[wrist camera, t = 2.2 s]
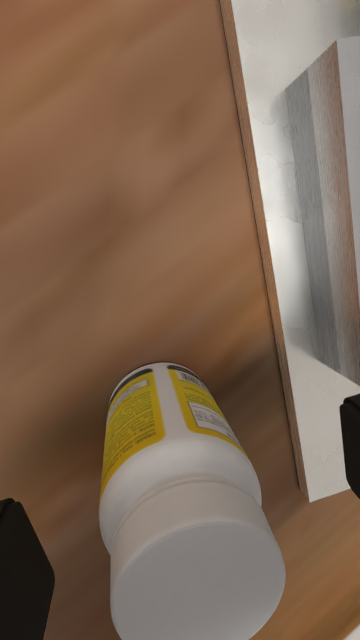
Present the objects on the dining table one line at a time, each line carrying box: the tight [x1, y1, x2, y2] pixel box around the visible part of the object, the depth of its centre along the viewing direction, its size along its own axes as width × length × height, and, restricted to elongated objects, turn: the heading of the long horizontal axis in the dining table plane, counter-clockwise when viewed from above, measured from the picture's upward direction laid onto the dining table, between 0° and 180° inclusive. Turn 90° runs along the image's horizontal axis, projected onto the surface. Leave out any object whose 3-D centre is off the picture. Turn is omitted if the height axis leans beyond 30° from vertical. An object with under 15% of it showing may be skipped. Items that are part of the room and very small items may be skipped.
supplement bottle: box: [99, 363, 286, 640], centre depth 11 cm, size 5×5×8 cm
